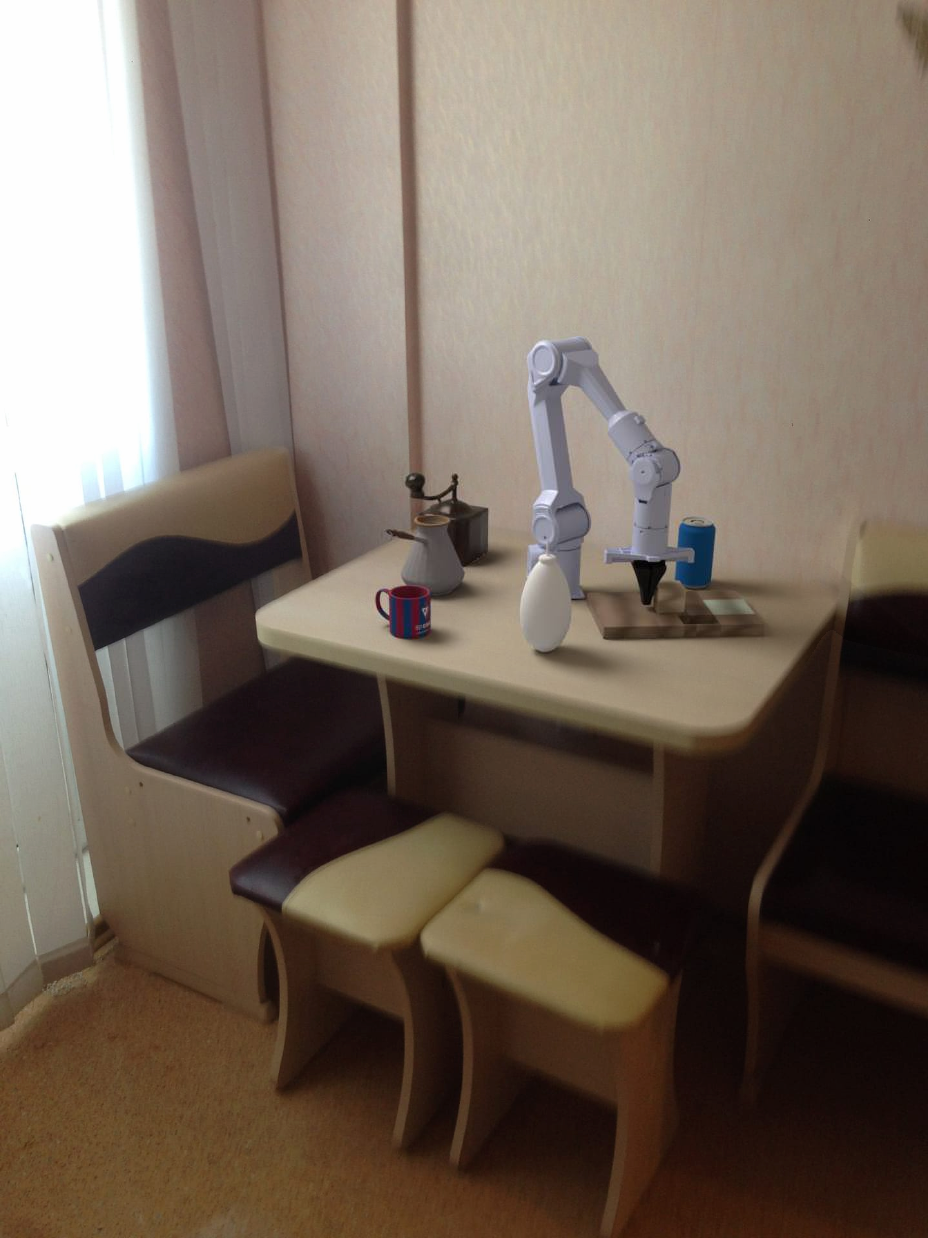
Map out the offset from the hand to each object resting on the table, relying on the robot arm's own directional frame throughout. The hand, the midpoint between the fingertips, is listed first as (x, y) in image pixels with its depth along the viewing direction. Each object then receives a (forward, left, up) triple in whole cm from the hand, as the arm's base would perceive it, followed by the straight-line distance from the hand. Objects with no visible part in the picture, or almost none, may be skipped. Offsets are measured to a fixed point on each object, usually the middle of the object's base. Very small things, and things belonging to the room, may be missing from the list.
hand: (645, 603), depth 179 cm
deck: (+5, 0, -3) cm, 5 cm away
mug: (-40, -2, -3) cm, 41 cm away
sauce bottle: (-18, -12, -3) cm, 22 cm away
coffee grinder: (-32, +34, -3) cm, 47 cm away
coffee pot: (-37, +13, -3) cm, 40 cm away
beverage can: (+13, +17, -3) cm, 21 cm away
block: (+4, 0, -1) cm, 4 cm away
